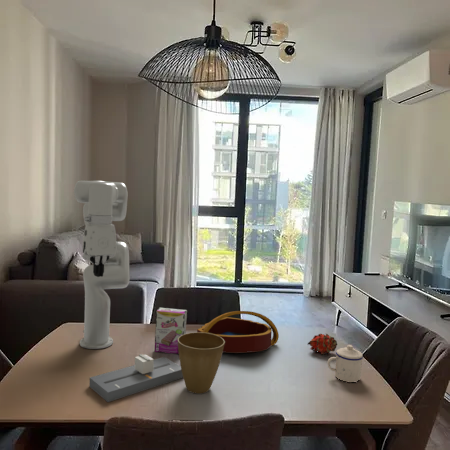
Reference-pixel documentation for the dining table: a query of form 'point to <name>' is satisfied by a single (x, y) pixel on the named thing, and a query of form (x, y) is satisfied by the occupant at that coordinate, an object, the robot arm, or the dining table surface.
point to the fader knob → (144, 363)
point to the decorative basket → (242, 332)
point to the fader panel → (134, 379)
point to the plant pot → (199, 359)
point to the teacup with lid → (347, 364)
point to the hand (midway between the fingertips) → (98, 275)
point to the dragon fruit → (323, 343)
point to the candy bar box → (169, 329)
